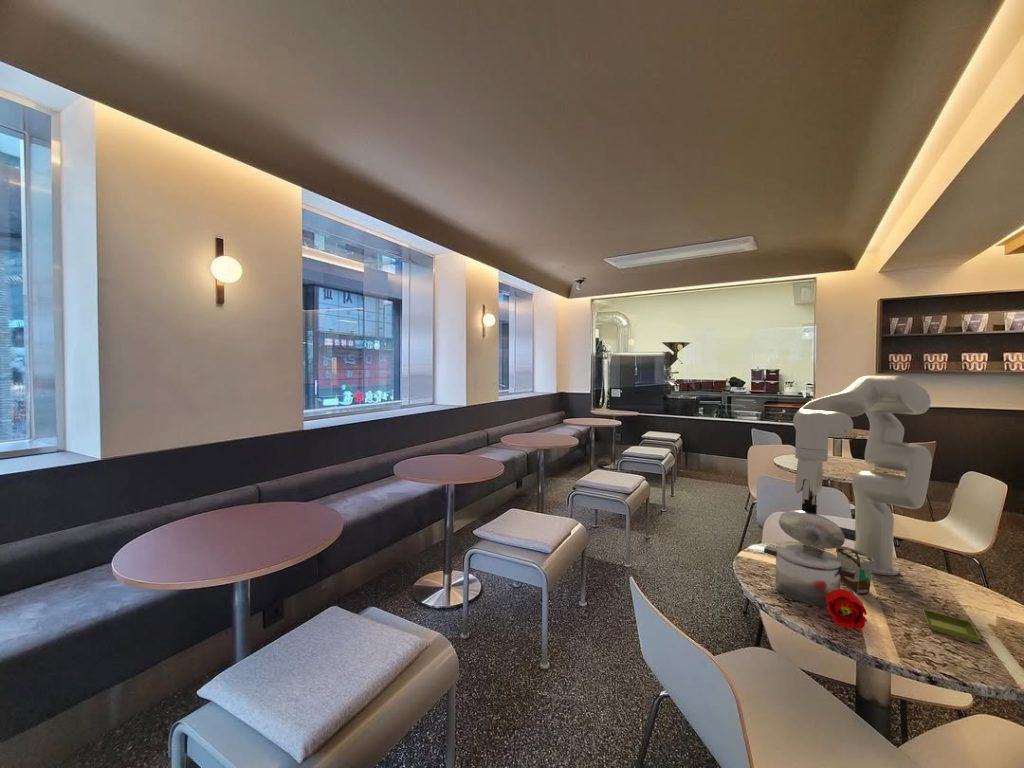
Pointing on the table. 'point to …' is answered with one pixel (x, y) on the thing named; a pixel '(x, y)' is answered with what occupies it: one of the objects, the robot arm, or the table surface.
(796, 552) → the cooker pot
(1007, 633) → the table surface
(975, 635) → the green shallow tray
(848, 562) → the food container
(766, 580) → the table surface
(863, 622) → the flower
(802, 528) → the cooker lid
